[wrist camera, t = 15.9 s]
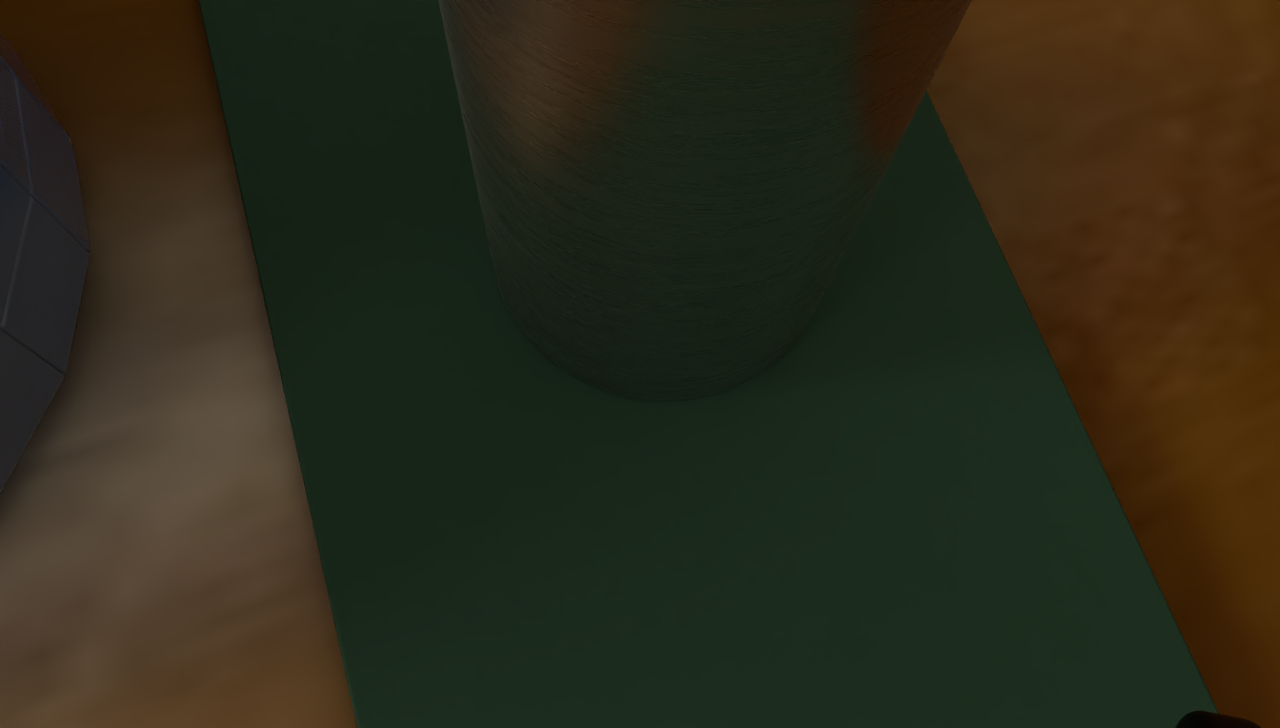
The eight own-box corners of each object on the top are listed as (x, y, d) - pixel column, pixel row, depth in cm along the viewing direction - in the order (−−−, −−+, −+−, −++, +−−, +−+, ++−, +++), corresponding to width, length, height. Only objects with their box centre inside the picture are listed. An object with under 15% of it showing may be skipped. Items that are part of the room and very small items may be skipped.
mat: (1288, 892, 15) (1306, 895, 15) (469, 1212, 14) (465, 1226, 13) (799, -157, 22) (803, -174, 21) (196, -27, 20) (189, -41, 19)
